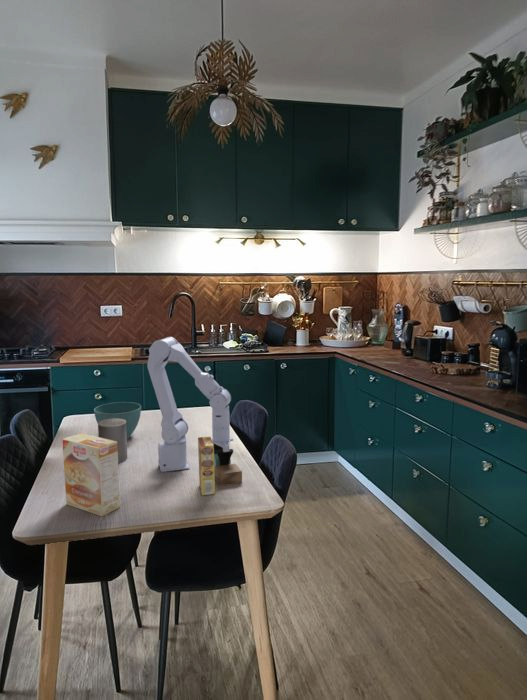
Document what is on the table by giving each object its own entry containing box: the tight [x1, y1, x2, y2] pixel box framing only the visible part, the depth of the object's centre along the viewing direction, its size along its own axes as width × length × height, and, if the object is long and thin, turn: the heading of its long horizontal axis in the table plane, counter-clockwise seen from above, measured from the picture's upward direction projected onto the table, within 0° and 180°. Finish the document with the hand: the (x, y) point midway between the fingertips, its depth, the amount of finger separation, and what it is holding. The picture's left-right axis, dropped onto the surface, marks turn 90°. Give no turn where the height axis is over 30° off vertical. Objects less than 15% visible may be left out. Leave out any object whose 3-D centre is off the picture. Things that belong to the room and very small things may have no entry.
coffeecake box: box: [61, 432, 121, 517], centre depth 144 cm, size 15×7×20 cm, turn 58°
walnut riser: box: [214, 463, 243, 486], centre depth 164 cm, size 7×7×4 cm
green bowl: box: [93, 401, 142, 439], centre depth 207 cm, size 18×18×12 cm
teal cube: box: [214, 454, 232, 469], centre depth 172 cm, size 5×5×5 cm
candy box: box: [197, 436, 216, 496], centre depth 156 cm, size 9×4×15 cm, turn 13°
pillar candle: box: [97, 418, 128, 464], centre depth 182 cm, size 10×10×15 cm
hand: (221, 465), depth 172 cm, fingers open, 7 cm apart
